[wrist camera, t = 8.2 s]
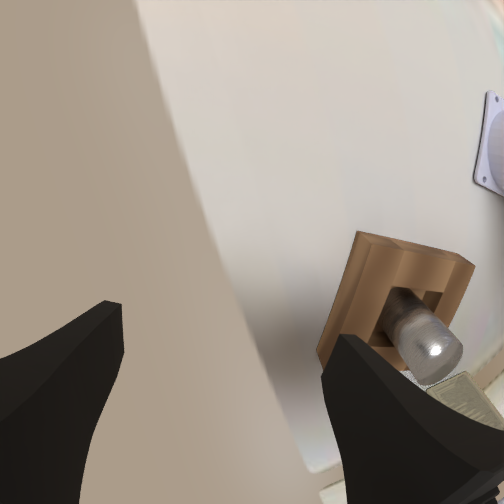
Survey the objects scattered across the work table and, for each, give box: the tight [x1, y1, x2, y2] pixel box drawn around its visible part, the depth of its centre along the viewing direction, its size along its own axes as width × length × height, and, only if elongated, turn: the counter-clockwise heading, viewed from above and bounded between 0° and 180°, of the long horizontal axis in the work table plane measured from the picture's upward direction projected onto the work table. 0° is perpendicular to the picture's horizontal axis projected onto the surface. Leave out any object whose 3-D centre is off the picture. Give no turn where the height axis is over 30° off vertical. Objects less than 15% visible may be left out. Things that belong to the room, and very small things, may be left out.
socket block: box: [316, 231, 475, 371], centre depth 20 cm, size 10×10×2 cm
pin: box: [377, 287, 463, 385], centre depth 18 cm, size 4×4×7 cm
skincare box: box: [426, 371, 504, 431], centre depth 21 cm, size 6×4×12 cm
